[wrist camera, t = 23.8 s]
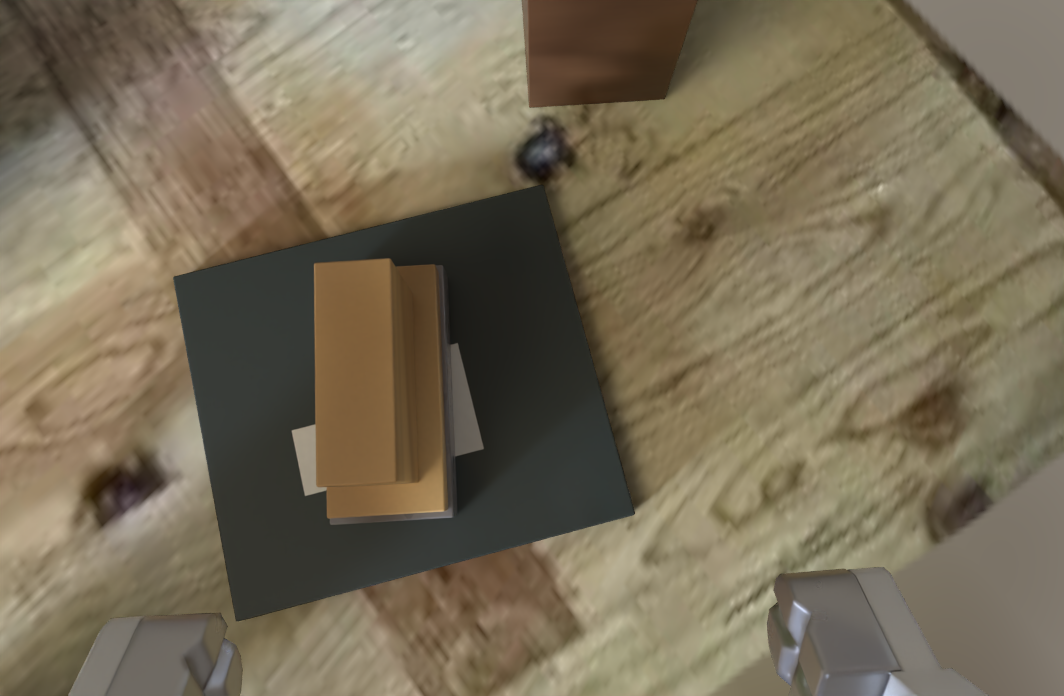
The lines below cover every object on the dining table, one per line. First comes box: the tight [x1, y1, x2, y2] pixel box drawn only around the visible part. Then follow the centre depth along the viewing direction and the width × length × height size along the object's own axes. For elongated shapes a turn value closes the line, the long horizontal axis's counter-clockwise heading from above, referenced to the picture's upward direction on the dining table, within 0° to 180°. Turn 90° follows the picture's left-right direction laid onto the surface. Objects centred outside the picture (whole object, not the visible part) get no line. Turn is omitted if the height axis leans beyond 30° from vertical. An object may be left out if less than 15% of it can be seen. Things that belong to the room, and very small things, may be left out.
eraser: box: [314, 258, 458, 525], centre depth 31 cm, size 5×11×8 cm, turn 3°
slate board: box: [173, 185, 635, 621], centre depth 35 cm, size 18×16×1 cm
